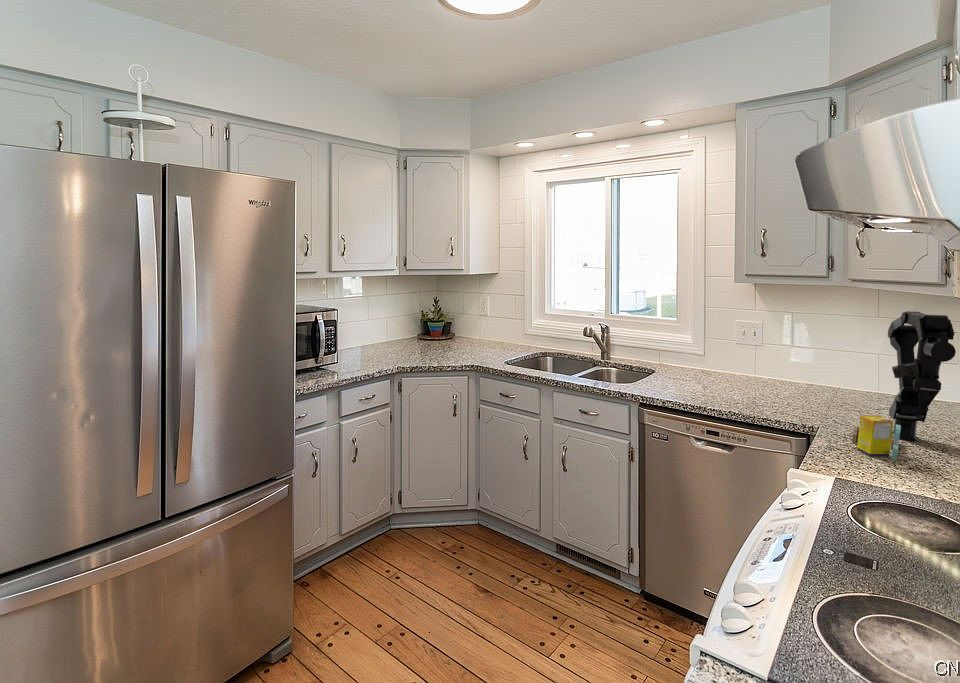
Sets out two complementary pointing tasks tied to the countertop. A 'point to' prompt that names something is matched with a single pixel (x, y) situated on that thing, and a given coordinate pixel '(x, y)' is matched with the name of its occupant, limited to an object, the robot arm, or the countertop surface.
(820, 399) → the countertop surface
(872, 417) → the supplement box
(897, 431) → the clip gate
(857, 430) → the dock
